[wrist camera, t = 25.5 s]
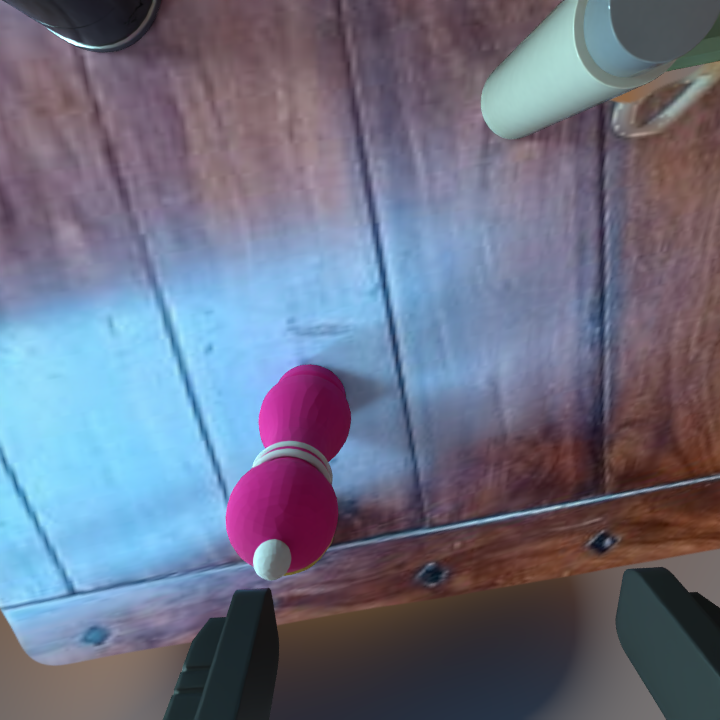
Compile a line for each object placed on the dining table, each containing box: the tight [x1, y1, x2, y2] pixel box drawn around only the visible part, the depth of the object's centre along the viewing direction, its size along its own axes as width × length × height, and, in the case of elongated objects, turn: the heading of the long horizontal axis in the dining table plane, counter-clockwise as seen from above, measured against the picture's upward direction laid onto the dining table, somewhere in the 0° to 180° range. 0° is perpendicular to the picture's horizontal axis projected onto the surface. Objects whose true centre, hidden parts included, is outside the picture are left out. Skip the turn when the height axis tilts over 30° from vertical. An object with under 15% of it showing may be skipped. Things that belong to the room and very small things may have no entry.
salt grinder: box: [481, 0, 720, 139], centre depth 24 cm, size 5×5×16 cm
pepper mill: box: [226, 365, 351, 580], centre depth 29 cm, size 7×7×20 cm
